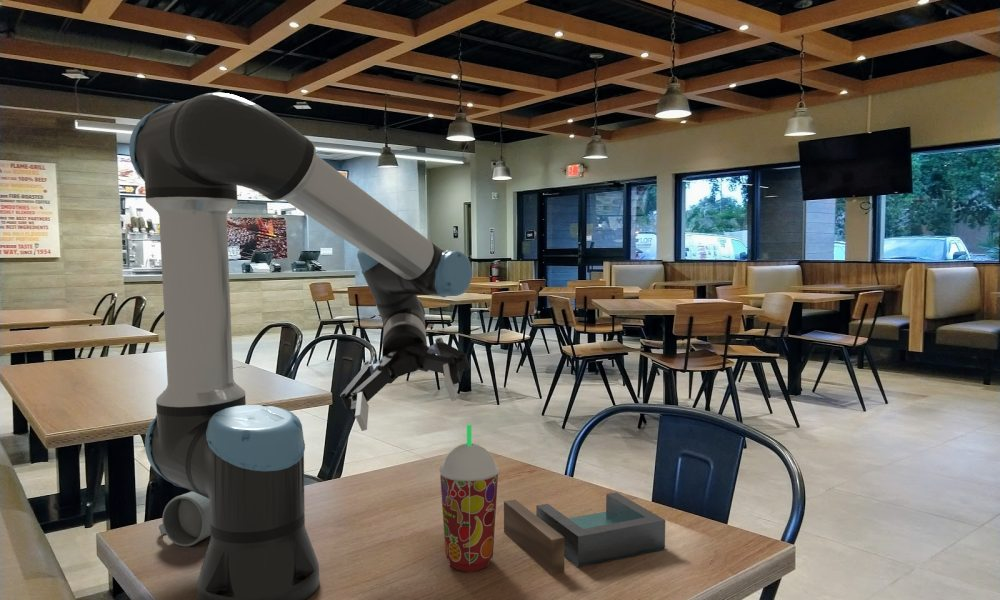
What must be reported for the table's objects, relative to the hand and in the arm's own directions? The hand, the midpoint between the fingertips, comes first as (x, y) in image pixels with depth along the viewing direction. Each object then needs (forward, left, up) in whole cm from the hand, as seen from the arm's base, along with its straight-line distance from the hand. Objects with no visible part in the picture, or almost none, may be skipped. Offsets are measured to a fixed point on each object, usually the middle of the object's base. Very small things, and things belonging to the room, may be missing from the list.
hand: (406, 408), depth 97 cm
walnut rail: (+18, -5, -22) cm, 29 cm away
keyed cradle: (+29, -5, -22) cm, 37 cm away
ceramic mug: (-29, +21, -22) cm, 42 cm away
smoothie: (+8, -5, -22) cm, 24 cm away
